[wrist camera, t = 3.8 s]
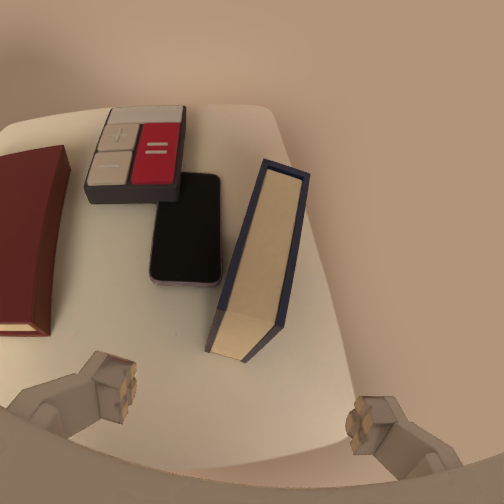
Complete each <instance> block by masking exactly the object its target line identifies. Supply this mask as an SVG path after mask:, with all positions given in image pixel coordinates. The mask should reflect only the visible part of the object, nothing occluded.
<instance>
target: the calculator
mask: <svg viewBox="0 0 504 504" xmlns="http://www.w3.org/2000/svg"><path fill="white" fill-rule="evenodd" d="M185 131H186V106H180V105H169V106H133V107H117V108H112V109H111V110H110V112H109V115H108V117H107V120H106V122H105V125H104V128H103V130H102V133H101V136H100V138H99V141H98V144H97V147H96V150H95V153H94V156H93V159H92V162H91V165H90V168H89V171H88V174H87V177H86V181H85V184H84V190H85V193H86V195H87V198H88V200H89V202H90V203H91V204H126V203H158V201H162V202H176V201H178V200H179V191H180V179H181V167H182V157H183V147H184V140H185Z"/></svg>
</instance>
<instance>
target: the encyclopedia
mask: <svg viewBox="0 0 504 504" xmlns="http://www.w3.org/2000/svg"><path fill="white" fill-rule="evenodd" d="M70 171H71V168H70V165H69V162H68V158H67V155H66V151H65V148H64V145H58V146H52V147H45V148H40V149H34V150H28V151H23V152H18V153H13V154H8V155H4V156H0V336H16V337H44V336H50V317H51V296H52V282H53V271H54V262H55V253H56V245H57V238H58V232H59V225H60V219H61V214H62V208H63V203H64V198H65V193H66V189H67V184H68V180H69V175H70Z"/></svg>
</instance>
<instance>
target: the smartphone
mask: <svg viewBox="0 0 504 504" xmlns="http://www.w3.org/2000/svg"><path fill="white" fill-rule="evenodd" d="M221 254H222V246H221V180H220V178H219V177H218V176H217V175H214V174H206V173H191V172H181V179H180V191H179V200H178V201H176V202H162V201H158V204H157V211H156V218H155V225H154V231H153V239H152V248H151V256H150V265H149V275H150V279H151V280H152V282H154V283H156V284H160V285H178V286H201V287H213V286H216V285H217V284H219V282H220V280H221V277H222V255H221Z"/></svg>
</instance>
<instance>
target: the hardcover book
mask: <svg viewBox="0 0 504 504" xmlns="http://www.w3.org/2000/svg"><path fill="white" fill-rule="evenodd" d="M309 178H310V174H309V173H307V172H303V171H301V170H298V169H295V168H292V167H289V166H286V165H283V164H280V163H277V162H274V161H270V160H267V159H263V162H262V165H261V168H260V171H259V174H258V177H257V180H256V184H255V187H254V190H253V193H252V196H251V199H250V203H249V206H248V209H247V212H246V215H245V218H244V222H243V225H242V228H241V231H240V234H239V238H238V241H237V244H236V247H235V251H234V254H233V257H232V260H231V264H230V267H229V270H228V273H227V277H226V280H225V283H224V286H223V290H222V293H221V296H220V300H219V303H218V306H217V310H216V313H215V317H214V320H213V323H212V327H211V330H210V334H209V337H208V341H207V344H206V348H205V352H209V353H210V351H211V352H214V353H217V354H221V355H224V356H228V357H231V358H235V359H239V360H241V362H244V363H246V362H247V361H249V360H250V359H251V358H252V357H253V356H254V355H255V354H256V353H257V352H258V351H259V350H261V349H262V348H263V347H264V346H265V345H266V344H267V343H268V342H269V341H270V340H271V339H272V338H273V337H274V336H275V335H277V334H278V333H279V332H280V331H281V330H282V329H283V328H284V324H285V319H286V314H287V309H288V304H289V299H290V293H291V288H292V283H293V277H294V272H295V266H296V260H297V254H298V249H299V243H300V237H301V231H302V225H303V218H304V212H305V206H306V199H307V192H308V186H309Z"/></svg>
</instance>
